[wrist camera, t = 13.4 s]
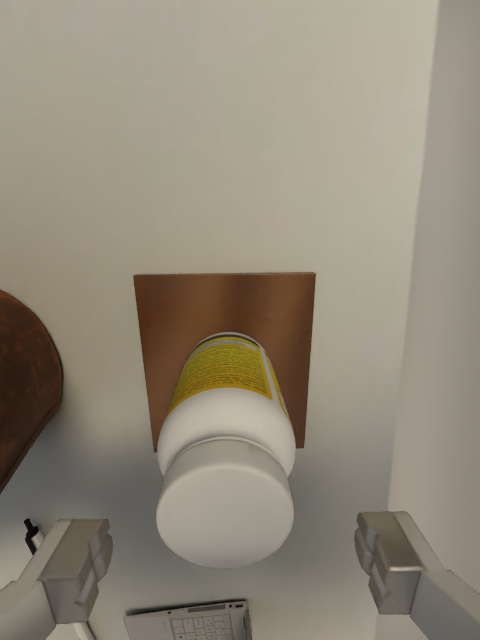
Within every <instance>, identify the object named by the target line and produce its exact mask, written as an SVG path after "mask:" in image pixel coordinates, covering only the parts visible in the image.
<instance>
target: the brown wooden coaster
mask: <svg viewBox="0 0 480 640" xmlns="http://www.w3.org/2000/svg"><path fill="white" fill-rule="evenodd" d="M133 278H134V286H135V294H136V303H137V311H138V320H139V328H140V336H141V345H142V353H143V362H144V370H145V379H146V387H147V395H148V404H149V412H150V421H151V429H152V438H153V446H154V452H157V445H158V439H159V435H160V431H161V428H162V425H163V422H164V419H165V417H166V414H167V411H168V409H169V406H170V403H171V400H172V397H173V395H174V392H175V389H176V387H177V384H178V381H179V378H180V376H181V373H182V370H183V367H184V365H185V362H186V360H187V358H188V356H189V354H190V352H191V351H192V349H193V348H194V347H195V346H196V345H197V344H198V343H199V342H200V341H202V340H203V339H205V338H207V337H209V336H211V335H214V334H217V333H222V332H236V333H241V334H244V335H246V336H249V337H251V338H252V339H254V340H255V341H256V342H258V343H259V344H260V345H261V346H262V347H263V348H264V350H265V351H266V353H267V355H268V357H269V359H270V361H271V364H272V367H273V370H274V373H275V376H276V379H277V382H278V385H279V388H280V391H281V394H282V397H283V400H284V403H285V406H286V409H287V412H288V415H289V419H290V422H291V425H292V428H293V432H294V437H295V444H296V448H304V440H305V426H306V411H307V396H308V382H309V367H310V352H311V337H312V323H313V308H314V293H315V279H316V273H314V272H283V273H205V274H136V275H134V276H133Z"/></svg>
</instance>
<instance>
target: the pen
mask: <svg viewBox="0 0 480 640" xmlns="http://www.w3.org/2000/svg"><path fill="white" fill-rule="evenodd" d="M24 523H25V525H26V527H27V529H28V532H27V534H26V538H25V541H26V543H27V545H28V547H29V549H30V551H31V553H32V555H34V554H35V552H36V551H37V549H38V547H39V546H40V544H41V543H42V541H43V540H44V538H43V536H42V534H41V532H40V530H39V528H38V527H37V526H35V527H33V525H32V523H31V521H30V519H29V518H28V519H26V520H25V521H24ZM72 625H73V627H74V629H75V630H76V632H77V634H78V636H79V638H80V640H94V638H93V636H92V634H91V632H90V630H89V628H88V626H87V624H86V622H84V623H72Z"/></svg>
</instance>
